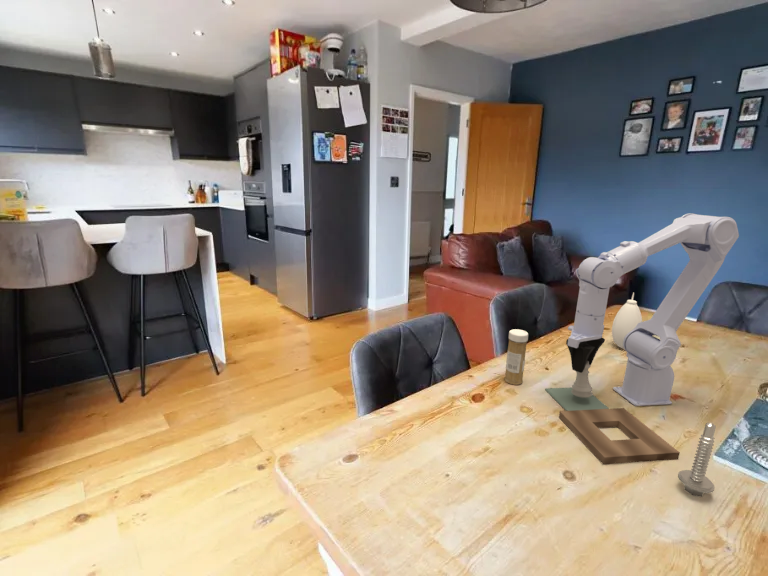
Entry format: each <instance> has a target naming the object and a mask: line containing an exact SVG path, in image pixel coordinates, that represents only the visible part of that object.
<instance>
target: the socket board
mask: <svg viewBox="0 0 768 576" xmlns="http://www.w3.org/2000/svg"><path fill="white" fill-rule="evenodd" d="M558 418H559V419H560V420H561V421H562V422H563V424H565V425H566V426H567V428H568V429H569V430H570V431H571V432H572V433H573V434H574V435H575V436H576V437H577V438H578V440H580V441H581V442H582V443H583V445H584V446H585V447H586V448H587V449H588V450H589V451H590V453H592V454H593V455H594V457H596V459H598V461H599V462H600V463H601V464H602V465H615V464H618V465H619V464H629V463H630V464H631V463H644V462H647V463H648V462H658V461H677V460H679V457H680V451H678V450H677V449H676V447H673V445H671V444H670V443H668V441H666V440H665V439H663V438H662V437H661V436H660V435H658V434H657V433H656V432H655V431H653V430H652V429H651V428H649V427H648V426H647V425H645V423H643V422H642V421H641V420H640V419H638V418H637V417H635V416H634V415H633V414H632V413H631V412H629V411H628V410H627V409H626V408H624V407H616V408H609V409H593V410H573V411H566V410H560V411H559V413H558ZM604 428H605V429H607V428H618V429H619V430H620V431H622V433H624V434H625V435H626V436H627V437H628V439H613V440H612V439H610V438H609V437H608V436H607V435H606V434H605V433H604V432H603V431H602V430H601V429H604Z"/></svg>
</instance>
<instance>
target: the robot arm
mask: <svg viewBox="0 0 768 576" xmlns="http://www.w3.org/2000/svg"><path fill="white" fill-rule="evenodd" d="M739 233H740V232H739V229H738V224H737V221H736V220H735V219H734V218H732V217H729V216H715V215H705V214H704V215H703V214H696V213H692V212H690V213H685V214H684V215H682V216H680V217H677V218H674V219H673V222H672V223H671V224H669V225H667V226H665V227H664V228H662V229H660V230H658V231H657V232H655V233H653V234H651V235H650V236H647V237H646V238H644V239H643V240H640V241H639V242H636V241H633V240H631V241H626V240H624V241H621V242H620V243H619V244H620V245H619V246H617V247H615V248H612V249H611V250H609V251H607V252H606V251H603V252H601V253H600V255H599V256H598V257H596V256H595V257H594V256H590V257H586V259H583V260H582V262H581V263H580V264H579V266H578V268H576V269H575V272H576V273H575V275H576V277H577V278H578V281H579V283H578V286H579V289H578V297H577V303H576V311H575V315H574V322H573V325H569V326H568V327H567V330H568V331H571V333H570V336H568V339H566V342H565V345H566V347H567V349H568V352H569V355H570V362H571V368H572V371H575V372H576V371H577V372H580V373H582V372H583V370H584V368H585V366H586V362H587V361H589V364H590V366H592V363H593V361H594V359H595V357H596V354H597V352H598V351H599V349H600V348H601V347H602V345H603V344H604V343H605V341H606V339H605V338H604V337H603V334H604V329H605V324H604V322H605V317H606V311H607V305H608V299H609V293H610V288H612V287H613V286H615V285H616V283H617V282H618V280H619V279H620V278H621V277H622V276H624V275H625V274H626V273H629V272H631V271H633V270H635V269H637V268H639V267H641V266H644V265H645V264H646V262H647V260H648V257H650V256H652V255H654V254H657V253H659V252H661V251H665V250H666V249H669V248H671V247H673V246H676V245H678V244H680V245H681V246H682V248H683V250H684V251H685V252H686V253H687V255H688V258H689V261H688V262H687V264H686V265H685V267H684V268H683V270H682V272H681V273H680V275H679V276H678V277H677V278H676V281H675V282H674V283H673V285H672V286H671V288H670V290H669V291H668V293H667V294H666V295H665V297H664V298H663V300H662V301H661V302H660V304H659V306H658V307H657V309H656V310H655V312H654V313H653V314H652V316H651V318H649V319H647V320H644V321H643V320H642V322H640V323H638V324H637V325H636V327H635V328H634V329H633V330H632V331H630V332H629V333H628V334H627V335H626V336H625V338H624V340H623V347H624V349H623V350H624V351H626V357H627V361H626V367H625V371H624V376H623V382H622V386H613V387H612V389H613V390H614V391H615V392H616V393H618V394H619V395H620V396H622V397H623V398H624V399H625V400H627V401H628V402H629V403H630V404H632V405H634V406H635V407H639V406H657V405H658V406H660V405H672V404H673V402H672V401H671V400H670V399H671V394H672V390H673V386H674V381H675V372H674V369H673V368H672V364H673V363H674V362H675V360H676V358H677V354H678V350H679V348H680V347H681V345H682V342H681V340H680V338H679V336H678V334H677V331H678V330H679V328H680V326H681V325H682V324H683V322H684V321H685V319H686V318H687V317H688V315H689V314H690V312H691V310H692V309H693V308H694V307H695V305H696V303H697V302H698V301H699V298H700V297H701V296H702V295H703V293H704V292H705V290H706V289H707V287H708V286H709V285H710V283H711V282H712V280H713V279H714V277H715V275H716V274H717V273H718V271H719V270H720V268H721V267H722V265H723V263H724V261H725V259H726V256H727V255H728V253H729V252H730V251H731V250H732V248H733V246H734V244H735V243H736V242H737V240H738V239H739V237H740V234H739ZM657 337H659V338H657ZM577 372H576V373H577Z"/></svg>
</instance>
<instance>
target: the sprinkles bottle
mask: <svg viewBox="0 0 768 576" xmlns="http://www.w3.org/2000/svg"><path fill="white" fill-rule="evenodd" d="M528 341H529V333H528V332H527V331H526V330H523V329H519V328H517V329H516V328H515V329H513V328H512V329H511V330H509V332H508V346H507V352H506V353H507V354H506V363H505V373H504V379H503V380H504V381H505V382H506V383H508V384H510V385H512V386H513V385H514V386H516V385H517V386H518V385H521V384H522V383H523V382H524V379H523V378H524V371H525V362H526V353H527V352H526V351H527V343H528Z"/></svg>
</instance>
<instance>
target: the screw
mask: <svg viewBox="0 0 768 576" xmlns="http://www.w3.org/2000/svg"><path fill="white" fill-rule="evenodd" d="M702 432H703V433H702V434H701V435H700V437H699V440H698V444H697V446H698V447H696V449H697V450H695V452H696V453H695V454H694V455H695V456H694V459H693V462H692V466H691V467H692V468H691V470H690V469H684V470H681V471H679V472H678V473H677V478H678V480H679V481H680V482H681V484H683V485H684V488H683V490H684V491H685V492H687V493H688V494H690V495H691V496H694V497H701V498H703V496H704V494H711V493H713V492H715V488H716V487H715V484H714V483H713V481H712V480H711V479H709V477H707V476H706V475H707V474H706V473H707V471H708V466H709V462H710V459H711V456H712V452H713V449H714V448H713V447H714V443H715V432H716V425H715V424H714V423H713V422H707V423H706V424H705V425H704V429H703V431H702Z"/></svg>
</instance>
